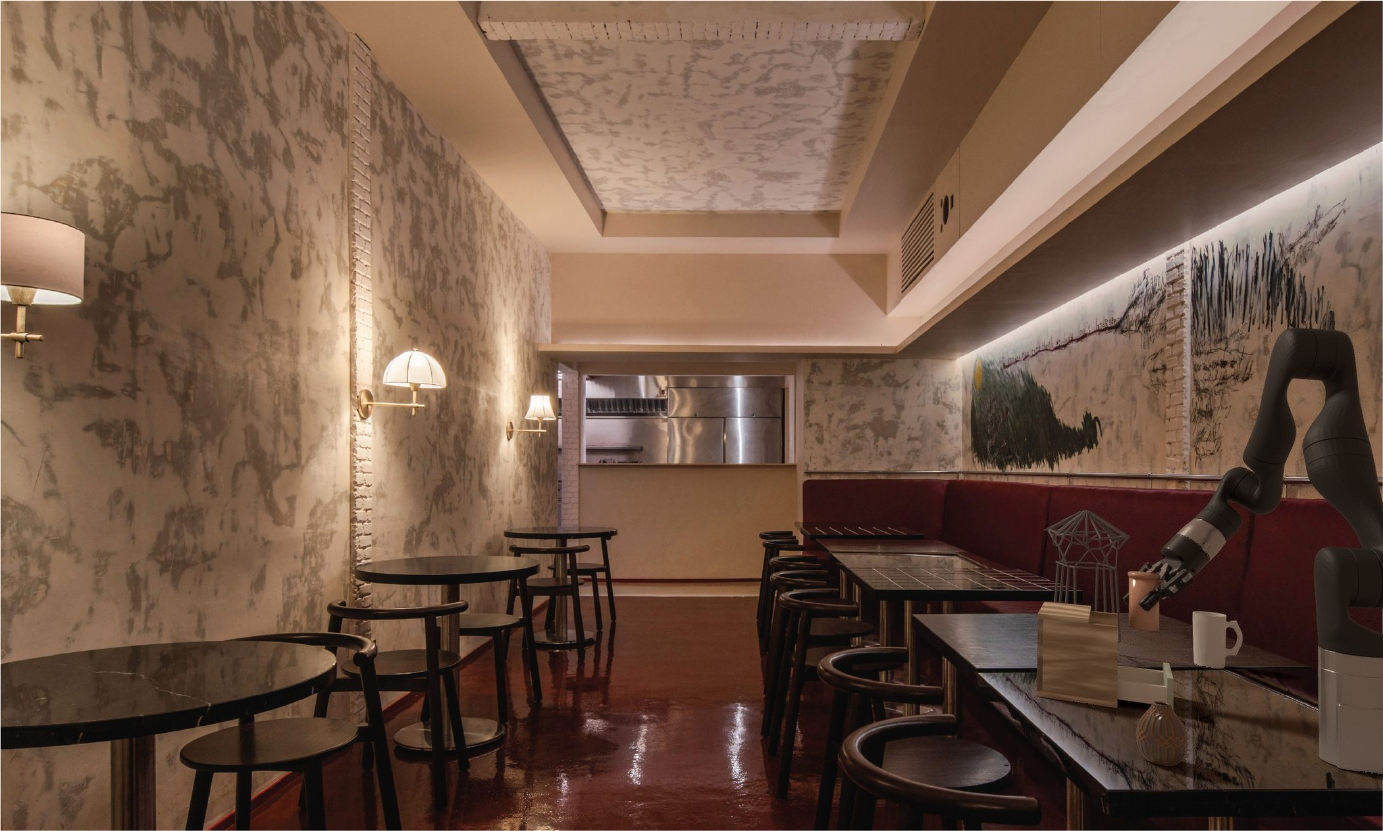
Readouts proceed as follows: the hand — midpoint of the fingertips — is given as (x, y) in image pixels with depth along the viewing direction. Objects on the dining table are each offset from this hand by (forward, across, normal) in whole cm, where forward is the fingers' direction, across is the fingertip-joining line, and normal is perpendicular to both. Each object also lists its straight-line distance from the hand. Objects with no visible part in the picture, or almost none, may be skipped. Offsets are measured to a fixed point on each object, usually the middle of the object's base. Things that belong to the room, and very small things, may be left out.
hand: (1134, 605), depth 167 cm
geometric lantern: (+6, -38, +19) cm, 43 cm away
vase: (+25, +37, +1) cm, 45 cm away
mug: (-13, -30, +39) cm, 51 cm away
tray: (+13, +1, +12) cm, 18 cm away
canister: (+2, 0, +4) cm, 5 cm away
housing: (+19, -4, +6) cm, 21 cm away
